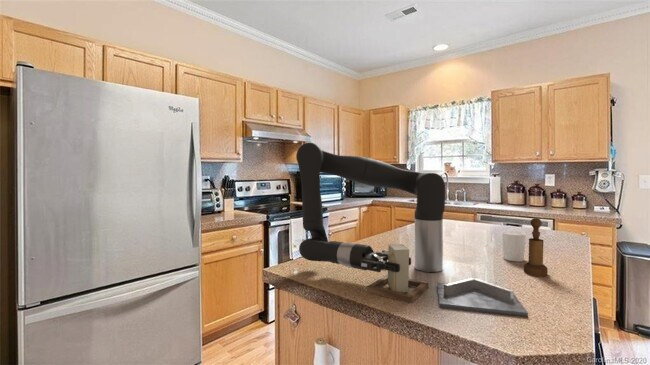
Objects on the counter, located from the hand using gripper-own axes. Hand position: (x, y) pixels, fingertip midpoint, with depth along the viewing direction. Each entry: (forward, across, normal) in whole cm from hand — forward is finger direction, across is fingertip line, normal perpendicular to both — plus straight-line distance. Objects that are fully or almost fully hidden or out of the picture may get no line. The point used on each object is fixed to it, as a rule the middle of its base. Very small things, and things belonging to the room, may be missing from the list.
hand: (405, 264), depth 89 cm
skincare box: (-2, 0, +7) cm, 8 cm away
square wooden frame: (-2, 0, +8) cm, 8 cm away
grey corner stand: (+17, +6, +7) cm, 20 cm away
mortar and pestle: (+28, +40, +8) cm, 49 cm away
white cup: (+20, +55, +8) cm, 59 cm away
